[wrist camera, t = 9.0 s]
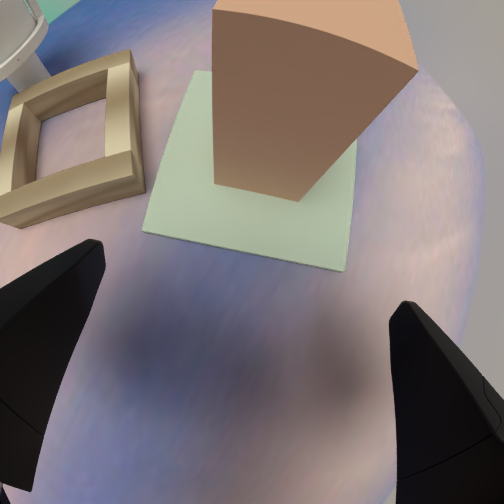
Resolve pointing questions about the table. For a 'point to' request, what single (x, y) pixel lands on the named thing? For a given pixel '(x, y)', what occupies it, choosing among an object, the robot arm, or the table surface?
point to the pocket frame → (85, 175)
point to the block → (300, 86)
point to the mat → (245, 198)
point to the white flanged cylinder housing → (21, 43)
